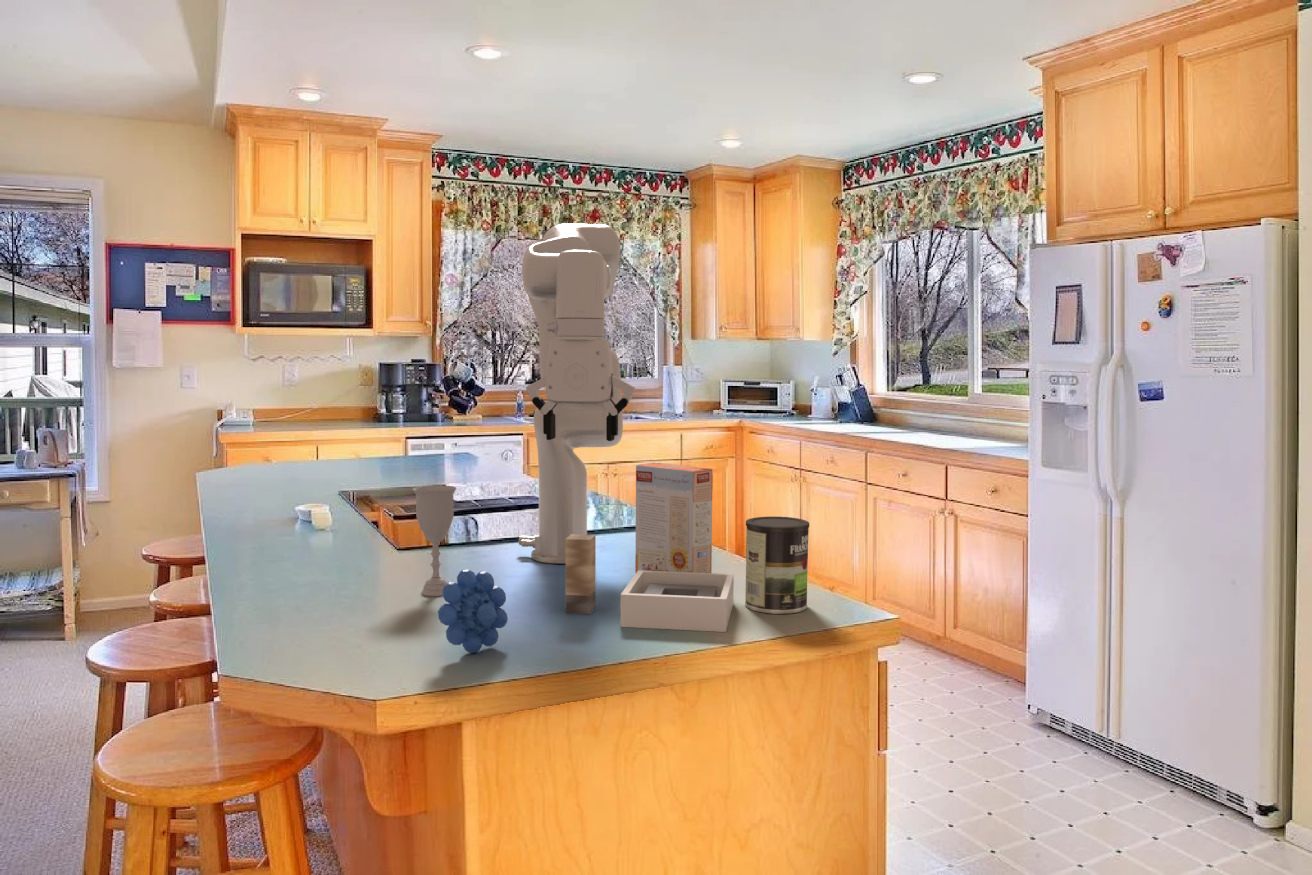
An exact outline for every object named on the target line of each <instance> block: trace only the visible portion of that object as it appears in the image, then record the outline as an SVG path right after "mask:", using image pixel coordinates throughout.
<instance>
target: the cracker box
mask: <svg viewBox="0 0 1312 875" xmlns="http://www.w3.org/2000/svg"><path fill="white" fill-rule="evenodd" d="M713 471H714V469H713V468H708V467H698V466H692V465H690V466H689V465H683V464H675V463H666V462H665V463H663V462H647V463H641V464H640V463H639V464H636V466H635V558H634V559H635V564H634V565H635V573H634V575H635V574H636V572H637V571H638V570H643V571H668V572H692V573H712V562H713V561H712V558H713V557H712V554H713V553H712V552H713V550H712V548H713V546H712V544H713V483H714V482H713V476H714V475H713V474H714V473H713Z"/></svg>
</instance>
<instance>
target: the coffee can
mask: <svg viewBox="0 0 1312 875" xmlns="http://www.w3.org/2000/svg"><path fill="white" fill-rule="evenodd" d="M745 526H746V537H745V538H746V540H745V541H746V544H745V545H746V546H745V602H744V606H745V607H746V608H747V609H749V610H751V611H754V612H757V613H763V614H770V615H771V614H772V615H790V614H796V613H801V612H803V611H806V609H807V608H808V573H809V572H808V568H809V565H808V564H809V563H808V561H809V531H810V529H809V528H810V522H809V521H808V520H805V519H802V518H797V517H792V516H791V517H790V516H789V517H788V516H758V517H757V516H756V517H753V518H752V517H751V518H747V519H746V521H745Z"/></svg>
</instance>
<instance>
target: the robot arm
mask: <svg viewBox="0 0 1312 875" xmlns="http://www.w3.org/2000/svg"><path fill="white" fill-rule="evenodd" d="M620 259H621V244H620V239H619V236H618V234H617V232H616V230H615V229H614V228H613V227H611V226H610V225H608V224H600V223H599V224H598V223H597V224H596V223H593V224H592V223H591V224H590V223H589V224H588V223H560V224H556V225H553V226H552V227H550V228H549V229H548V230H547V231H546V232H545V234H544V235H543V238H542V241H540V242H537V243H534V244H532V245H530V246H528V247H527V249H526V251H525V253H524V255H523V257H522V262H521V263H522V264H521V275H522V283H523V288H524V291H525V293H526V295H527V297H528V300H529V303H530V306H531V309H532V311H533V314H534V316H535V317H534V318H535V320H536V323H537V325H538V326H537V327H538V335H539V337H538V338H539V339H538V340H539V372H540V374H539V375H540V378H539V380H536V381H535V382H532V383H531V384H528V385H527V386H526V387H525V388H526V392H527V394H528V396H529V398H530V399H531V402H532V404H533V405H534V406H535V407H536V408H535V410H534V414H533V428H534V433H535V439H536V446H537V460H538V461H537V462H538V463H537V464H538V534H534V536H529V535H519V537H518V544H519V546H521V547H524V548H526V547H531V548H533V550H532V551H531V554H530V556H531V557H530V558H531V559H533V560H534V561H536V562H539V563H540V562H541V563H546V564H559V565H560V564H563V565H566V549H565V539H566V538H567V537H568V536H570V535H571V534H583V535H588V505H587V504H588V476H587V475H588V474H587V468H586V466H585V463H584V461H582V460H581V459H580V458H579V457H578V455H577V454H576V453H575V451H574V449H580V448H608V447H609V448H610V447H614V446H617V444H619V443H620V442H621V440H622V437H623V431H624V418H623V417H624V416H623V410H625V408H626V407H627V406H628V405H629V404H630V401H631V400H632V398H633V395H634V393H635V392H636V387H635V386H633V385H632V384H629V383H628V382H626V381H624V380H622V379H621V377H622V375H621V366H620V361H619V357H618V355H617V353H616V352H615V351H614V350H613V349H612V348H611V347H610V343H609V340H608V339H605V299H608V298H609V297H610V296H611V295H612V293H613V291H614V287H615V283H616V278H617V273H618V270H619V265H620ZM542 388H543V389H544V390H545V396H546V399H547V400H546V401H545V400H544V399H543V398H542V397H541V396H540V393H539V390H541V389H542ZM622 392H623V394H622Z"/></svg>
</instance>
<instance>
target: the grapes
mask: <svg viewBox="0 0 1312 875" xmlns="http://www.w3.org/2000/svg"><path fill="white" fill-rule="evenodd" d="M442 592H443V595H442V597H443V600H444V601H445V602H447V603H444V604H442V605H440V607H439V609H438V611H437V616H438V618H437V619H438V620H439V621H440V624H443V625H444V626H447V627H446V628H447V629H446V630H445V635H446V636H445V637H446V639H447V641H448V643H450V644H451V645H453V646H460V645H462V647H463V649H464V650H465V651H466V652H468V653H469V654H476V653H478V652H479V651H480V650H481V649H482V646H486V647H493V646H494V645H496V644H497V642H498V640H499V631H498V630H497V629H502V628H504V627H505V626H506V624H508V613H507V612H506V611H505V609H504V608H501V607H502V606H504V604H505V603H506V601H507V597H506V596H507V595H506V592H505V591H504V588H501V587H500V586H497V585H496V586H495V579H494V577H493V576H492V574H491V573H490V572H487V571H485V570H482V571H479V572H477V573H475V572H474V571H472V570H470V569H462V570H461V571H459V573H458V575H457V576H456V582H455V581H454V582H453V581H451V582H447V584H446V585H445V586H444V588H443V590H442Z"/></svg>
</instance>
